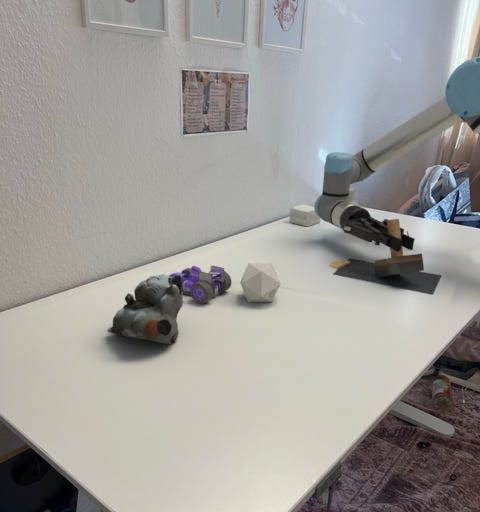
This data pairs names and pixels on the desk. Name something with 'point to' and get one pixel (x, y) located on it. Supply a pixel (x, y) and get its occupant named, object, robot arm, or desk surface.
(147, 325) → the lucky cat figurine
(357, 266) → the mat
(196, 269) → the toy race car
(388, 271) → the wooden peg stand
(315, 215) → the small box
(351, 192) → the air freshener
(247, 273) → the die
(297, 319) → the desk surface
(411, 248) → the robot arm
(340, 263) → the pad
